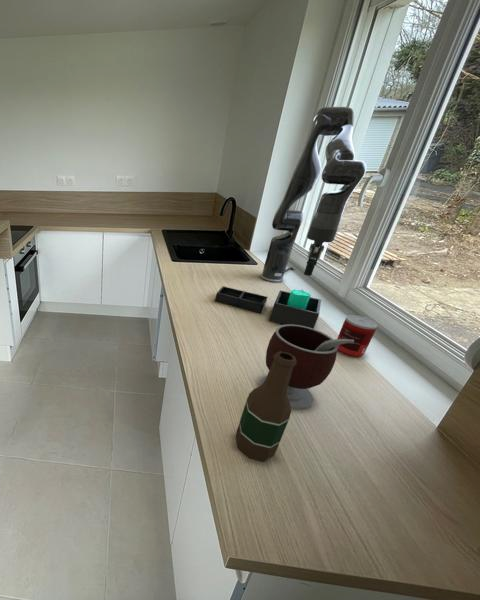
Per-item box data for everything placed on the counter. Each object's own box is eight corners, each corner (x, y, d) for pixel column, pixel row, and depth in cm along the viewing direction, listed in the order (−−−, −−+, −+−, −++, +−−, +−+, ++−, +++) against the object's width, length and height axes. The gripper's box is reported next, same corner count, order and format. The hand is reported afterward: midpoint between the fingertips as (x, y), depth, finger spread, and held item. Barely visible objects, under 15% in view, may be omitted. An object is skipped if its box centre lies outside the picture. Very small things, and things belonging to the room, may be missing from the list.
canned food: (357, 346, 105) (371, 317, 101) (368, 360, 98) (383, 329, 94) (330, 342, 108) (342, 313, 103) (338, 355, 101) (352, 324, 96)
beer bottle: (227, 433, 72) (253, 344, 62) (259, 431, 73) (291, 343, 63) (246, 464, 65) (279, 370, 55) (282, 462, 66) (322, 368, 56)
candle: (304, 322, 118) (315, 292, 113) (286, 320, 119) (296, 291, 114) (297, 314, 123) (307, 286, 118) (280, 313, 124) (290, 284, 119)
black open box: (274, 307, 130) (280, 290, 127) (314, 317, 123) (321, 299, 120) (268, 321, 120) (274, 303, 116) (311, 333, 113) (319, 314, 109)
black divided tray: (220, 294, 141) (222, 286, 139) (265, 305, 132) (267, 296, 130) (214, 301, 134) (216, 292, 133) (260, 313, 125) (263, 304, 123)
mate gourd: (249, 394, 84) (270, 328, 75) (262, 369, 94) (282, 308, 85) (320, 424, 75) (353, 354, 66) (326, 393, 85) (356, 328, 76)
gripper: (338, 231, 99) (319, 280, 106) (338, 223, 109) (322, 268, 116) (309, 227, 103) (293, 275, 110) (312, 220, 113) (298, 264, 120)
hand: (308, 271), depth 113 cm, fingers open, 8 cm apart
